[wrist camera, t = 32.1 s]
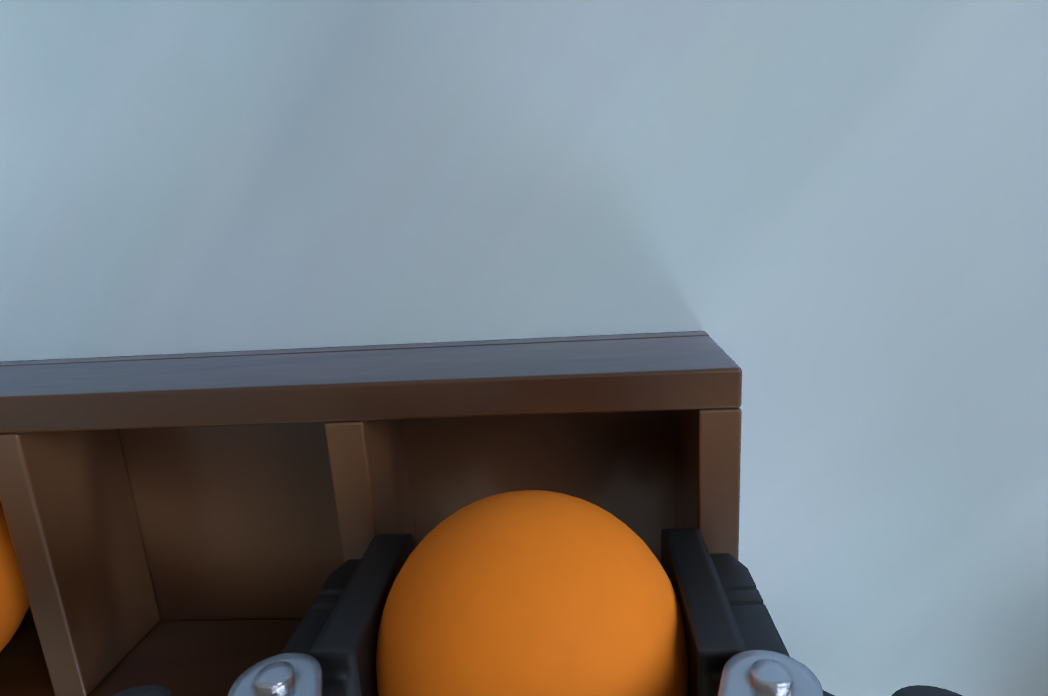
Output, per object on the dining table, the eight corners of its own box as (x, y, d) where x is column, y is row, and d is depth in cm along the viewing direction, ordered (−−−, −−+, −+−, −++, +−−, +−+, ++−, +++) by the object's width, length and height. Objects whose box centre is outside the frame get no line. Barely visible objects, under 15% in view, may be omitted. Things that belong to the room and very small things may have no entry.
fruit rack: (-174, 368, 17) (-349, 410, 13) (705, 330, 15) (743, 368, 12) (-20, 831, 20) (-129, 950, 17) (701, 844, 18) (729, 981, 15)
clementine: (403, 449, 13) (300, 613, 8) (662, 440, 12) (729, 607, 7) (428, 666, 14) (352, 930, 9) (664, 664, 14) (723, 938, 9)
